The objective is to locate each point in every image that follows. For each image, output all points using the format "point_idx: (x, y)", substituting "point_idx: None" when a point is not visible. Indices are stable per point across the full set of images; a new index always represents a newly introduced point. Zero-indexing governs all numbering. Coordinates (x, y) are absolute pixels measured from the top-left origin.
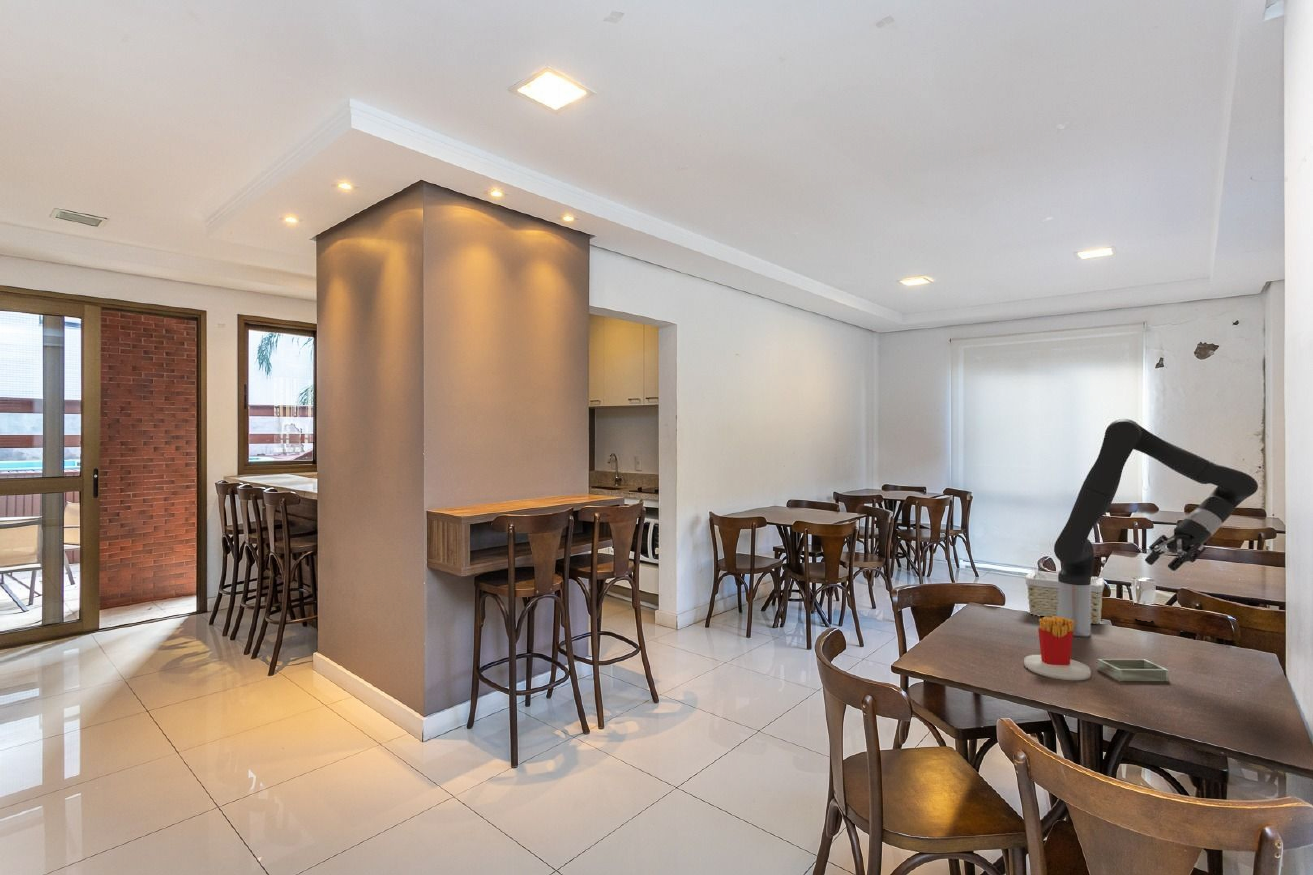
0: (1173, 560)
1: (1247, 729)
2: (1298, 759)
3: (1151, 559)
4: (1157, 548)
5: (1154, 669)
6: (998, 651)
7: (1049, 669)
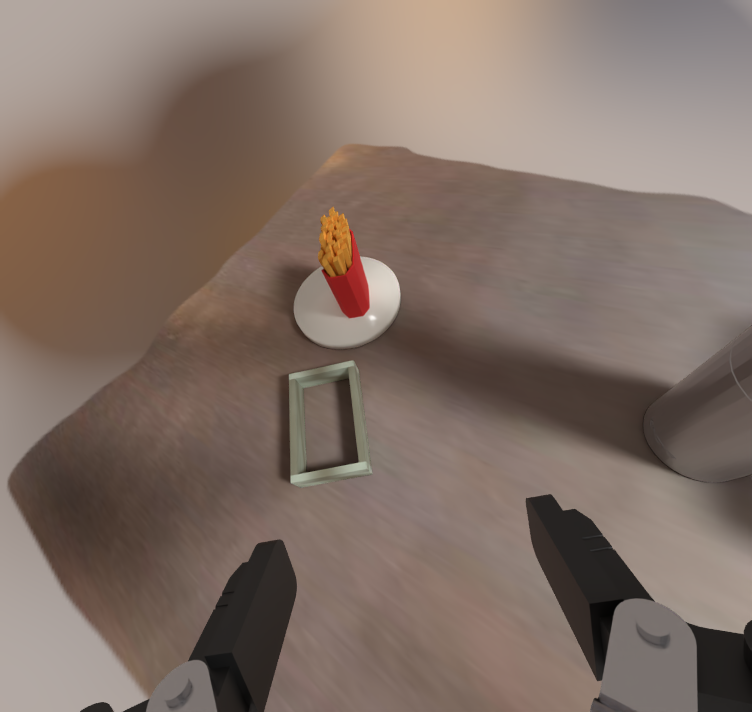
0: (244, 599)
1: (95, 486)
2: (12, 488)
3: (545, 551)
4: (637, 674)
5: (294, 450)
6: (435, 240)
7: (318, 280)
